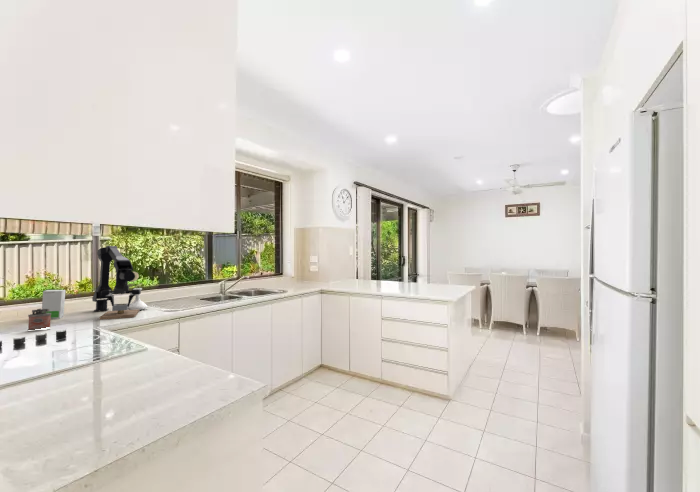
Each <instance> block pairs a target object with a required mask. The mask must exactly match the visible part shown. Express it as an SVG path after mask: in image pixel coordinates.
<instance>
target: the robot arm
mask: <svg viewBox="0 0 700 492" xmlns="http://www.w3.org/2000/svg"><path fill="white" fill-rule="evenodd" d="M96 253H97V258H98V260H99V261H100V269H99V283H98V286H97V287H96V288H95V292H94V293H93V295H92V298H91V299H92V302H95V309H94V310H93V312H107V311H109V308H108V301H110V304H111V307H112V306H113V305H114V304H115V298H114V297H115V296H114V295H124V294H129V295H128V302H127V303H128V307H129V305H130V304H131V303H132V300H133V299H134V298H135V297H136V294H140V295H141V293H142V290H140V289H135V288H133V289H131V290H130V287H129V285H128V284H129V281H132V280H134V278H135V274H134V273H133V272H134V267H133V264H132V262H131V261H130V259H129V258H128V257H125V256H123V255H122V253H121V252H120V250H119V248H118V247H117V246H116V245H106V246H105V247H100V248H99V249H98V250H97V252H96ZM112 261H113V267H114V269H115V286H114V288H113V289H112V287H110V283H109V282H110V271H111V269H110V268H111V262H112ZM132 282H133V281H132Z"/></svg>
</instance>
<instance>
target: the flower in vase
mask: <svg viewBox="0 0 700 492" xmlns="http://www.w3.org/2000/svg"><path fill="white" fill-rule="evenodd" d="M132 272H133V273H134V274H135V278H134V280H132V281H128V285H129V288H131V287H133V286H134V287H135V288H134V289H140V290H141V291H142V290H143V288H142V287H140V286H142V285H143V282H141V283H138V284H135V283H134V282H135V281H137V280H138V279H139V277H140V276H139V272H136V271H132ZM138 287H139V288H138ZM140 297H141V294H136V296H135V297H134V298H135V299H134V301H131V303H130V305H129V309H128V310H138V309H139V311H140V310H145V309H147V308H148V305H147V304H146V303H145V302H144V301H142V300H141V298H140Z"/></svg>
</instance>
